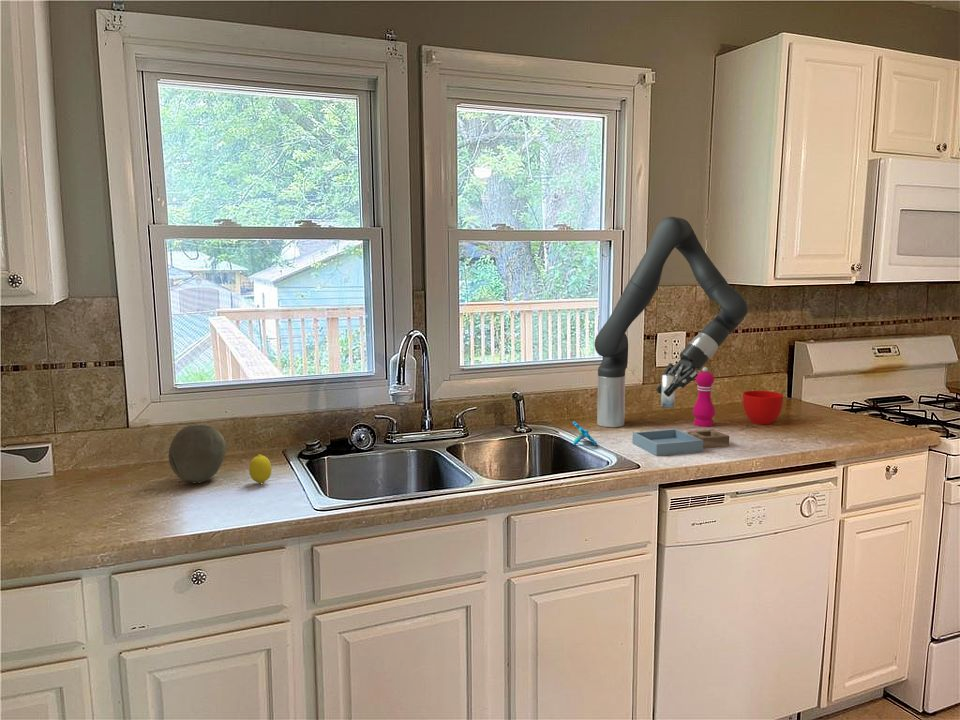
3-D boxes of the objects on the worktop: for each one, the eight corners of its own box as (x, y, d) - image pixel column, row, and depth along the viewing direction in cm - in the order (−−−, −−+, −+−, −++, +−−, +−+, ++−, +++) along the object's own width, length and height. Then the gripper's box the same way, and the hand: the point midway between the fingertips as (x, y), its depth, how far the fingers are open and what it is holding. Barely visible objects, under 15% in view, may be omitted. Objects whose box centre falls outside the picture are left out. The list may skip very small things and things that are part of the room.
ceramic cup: (784, 418, 251) (786, 390, 250) (779, 428, 237) (781, 399, 235) (746, 414, 258) (747, 387, 256) (739, 424, 243) (740, 395, 241)
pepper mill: (691, 426, 241) (693, 368, 239) (693, 421, 248) (695, 365, 245) (713, 427, 239) (715, 369, 236) (715, 423, 245) (717, 366, 243)
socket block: (686, 440, 222) (687, 431, 222) (712, 438, 225) (712, 429, 224) (703, 448, 214) (703, 438, 213) (729, 445, 216) (729, 436, 216)
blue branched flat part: (600, 444, 213) (576, 420, 214) (586, 458, 214) (563, 434, 214) (597, 440, 225) (574, 417, 225) (583, 453, 225) (561, 431, 225)
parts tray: (632, 443, 220) (632, 432, 220) (675, 439, 224) (676, 428, 224) (656, 456, 206) (656, 444, 205) (702, 451, 210) (702, 440, 209)
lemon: (252, 481, 188) (251, 452, 187) (274, 480, 188) (272, 451, 187) (247, 487, 182) (246, 457, 181) (269, 487, 183) (268, 457, 182)
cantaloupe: (223, 486, 183) (220, 430, 181) (165, 491, 181) (161, 434, 178) (231, 471, 197) (227, 418, 195) (176, 475, 194) (172, 421, 192)
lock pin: (658, 405, 215) (659, 374, 213) (670, 404, 216) (671, 374, 214) (665, 408, 211) (666, 376, 209) (677, 407, 212) (678, 376, 211)
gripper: (678, 340, 219) (642, 381, 218) (704, 345, 206) (666, 389, 204) (693, 356, 221) (657, 397, 220) (720, 362, 208) (682, 406, 206)
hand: (662, 393), depth 212 cm, fingers closed on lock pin, 4 cm apart
